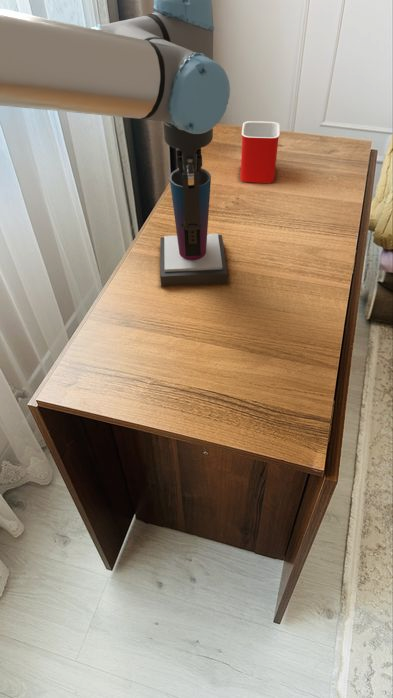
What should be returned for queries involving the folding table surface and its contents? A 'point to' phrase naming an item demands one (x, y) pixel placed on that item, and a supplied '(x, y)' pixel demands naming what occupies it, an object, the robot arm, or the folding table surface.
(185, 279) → the scale
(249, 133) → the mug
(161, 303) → the folding table surface
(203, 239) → the cup
